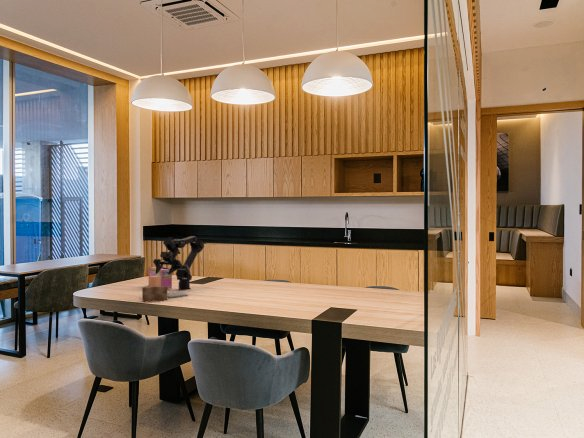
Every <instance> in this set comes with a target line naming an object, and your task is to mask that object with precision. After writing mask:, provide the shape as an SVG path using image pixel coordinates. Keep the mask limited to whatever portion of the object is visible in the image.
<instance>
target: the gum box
mask: <svg viewBox="0 0 584 438" xmlns="http://www.w3.org/2000/svg"><path fill="white" fill-rule="evenodd" d="M169 270H170V267H169V268H168V267H165V266H162V267H161V270H160V271H159V272H158V273H157V274H156V266H155V267H154V266H148V278H149V277H150V276H161V286H167V288H173V283H172V282H173V276H172V275H173V272H172V273H171V274H170V275H168V272H169Z"/></svg>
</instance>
